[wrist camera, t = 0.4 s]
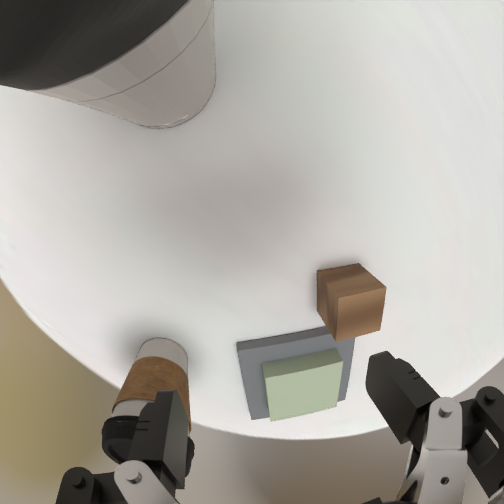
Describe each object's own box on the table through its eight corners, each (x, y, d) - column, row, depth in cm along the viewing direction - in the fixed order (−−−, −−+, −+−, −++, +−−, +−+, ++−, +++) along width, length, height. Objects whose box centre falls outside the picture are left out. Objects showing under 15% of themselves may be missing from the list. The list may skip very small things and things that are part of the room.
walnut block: (316, 270, 28) (338, 297, 23) (358, 263, 29) (386, 287, 23) (316, 310, 30) (335, 342, 25) (356, 301, 30) (380, 330, 25)
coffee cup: (171, 389, 32) (160, 487, 18) (118, 353, 29) (83, 452, 15) (212, 357, 31) (215, 469, 17) (155, 315, 28) (122, 429, 14)
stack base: (236, 342, 30) (239, 365, 27) (351, 320, 31) (365, 339, 27) (250, 412, 35) (253, 433, 31) (341, 392, 36) (350, 411, 32)
